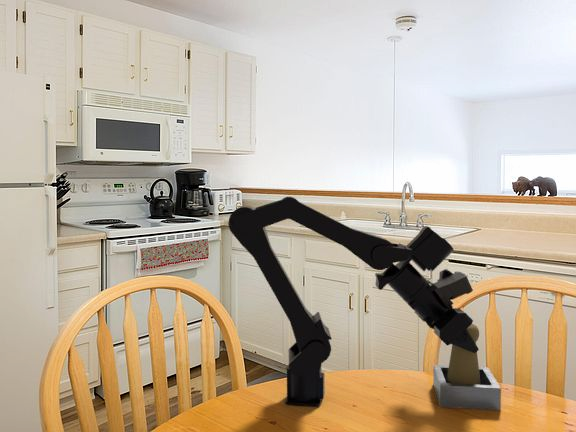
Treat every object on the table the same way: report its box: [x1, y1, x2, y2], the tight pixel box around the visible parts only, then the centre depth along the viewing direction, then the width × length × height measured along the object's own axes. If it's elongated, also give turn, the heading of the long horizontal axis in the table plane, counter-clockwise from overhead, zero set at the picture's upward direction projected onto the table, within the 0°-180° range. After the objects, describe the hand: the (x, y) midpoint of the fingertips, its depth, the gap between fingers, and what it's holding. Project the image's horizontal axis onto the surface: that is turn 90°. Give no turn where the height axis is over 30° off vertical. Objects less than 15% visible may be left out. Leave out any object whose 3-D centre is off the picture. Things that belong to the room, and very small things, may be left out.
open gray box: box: [433, 364, 502, 411], centre depth 97 cm, size 10×10×4 cm
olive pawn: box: [447, 323, 480, 385], centre depth 97 cm, size 6×6×11 cm
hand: (471, 346), depth 97 cm, fingers closed on olive pawn, 5 cm apart
